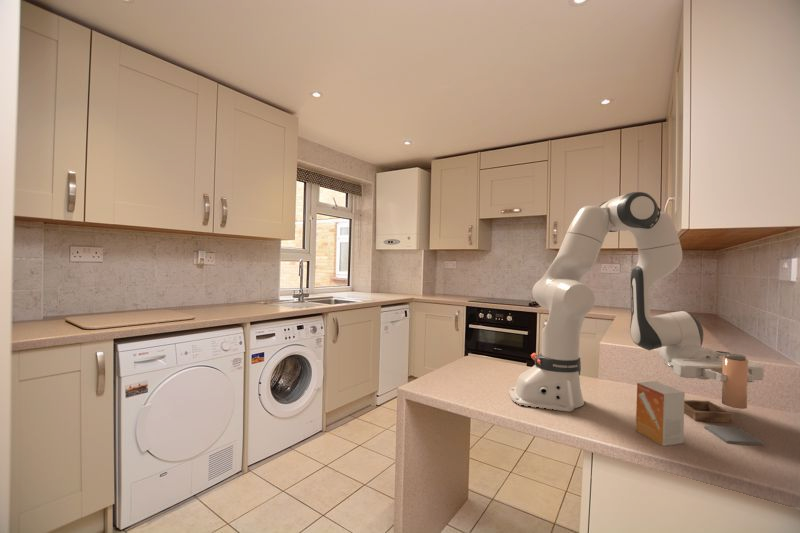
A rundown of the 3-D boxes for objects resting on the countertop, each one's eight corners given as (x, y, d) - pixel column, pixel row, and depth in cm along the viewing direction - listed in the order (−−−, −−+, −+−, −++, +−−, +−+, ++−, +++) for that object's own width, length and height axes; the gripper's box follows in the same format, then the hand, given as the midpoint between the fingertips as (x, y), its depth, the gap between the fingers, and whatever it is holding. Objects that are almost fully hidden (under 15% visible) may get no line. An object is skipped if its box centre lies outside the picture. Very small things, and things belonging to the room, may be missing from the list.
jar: (730, 408, 92) (731, 357, 91) (717, 400, 97) (717, 352, 96) (752, 409, 91) (753, 358, 91) (737, 401, 96) (738, 353, 96)
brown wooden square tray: (695, 420, 103) (695, 412, 103) (675, 407, 112) (675, 399, 112) (731, 422, 102) (731, 413, 102) (708, 408, 111) (708, 400, 111)
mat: (726, 442, 91) (726, 440, 91) (704, 427, 99) (704, 425, 99) (763, 445, 90) (763, 442, 90) (737, 429, 98) (737, 427, 98)
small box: (635, 430, 97) (636, 382, 97) (655, 428, 98) (656, 380, 98) (662, 446, 89) (663, 393, 89) (684, 444, 90) (685, 391, 90)
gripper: (661, 351, 108) (692, 365, 94) (738, 352, 105) (782, 367, 91) (661, 372, 108) (692, 389, 94) (738, 374, 105) (781, 392, 92)
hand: (737, 378), depth 93 cm, fingers closed on jar, 5 cm apart
